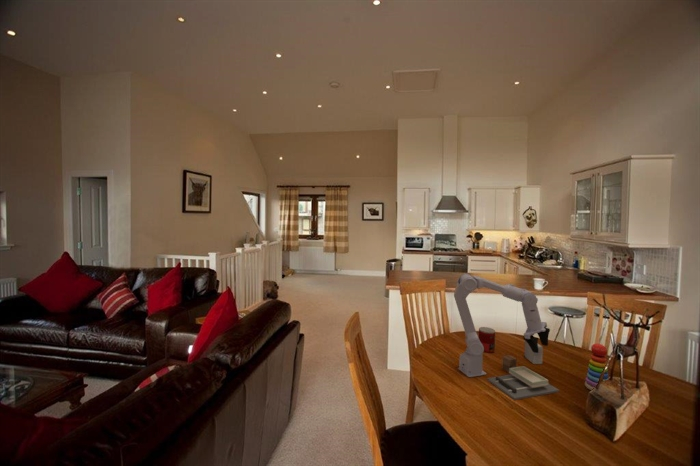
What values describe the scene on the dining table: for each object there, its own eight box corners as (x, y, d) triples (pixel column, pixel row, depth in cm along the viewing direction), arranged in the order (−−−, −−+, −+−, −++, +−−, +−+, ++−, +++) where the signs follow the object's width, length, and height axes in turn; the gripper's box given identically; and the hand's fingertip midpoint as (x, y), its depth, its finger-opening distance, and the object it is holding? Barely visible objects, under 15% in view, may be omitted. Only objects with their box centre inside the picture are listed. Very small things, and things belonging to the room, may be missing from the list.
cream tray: (532, 390, 120) (532, 382, 120) (508, 375, 131) (509, 368, 131) (548, 387, 122) (548, 380, 122) (523, 372, 134) (523, 366, 133)
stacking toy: (614, 396, 119) (617, 349, 118) (591, 393, 121) (593, 347, 120) (602, 385, 127) (604, 341, 126) (580, 382, 129) (582, 339, 128)
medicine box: (542, 364, 145) (543, 346, 144) (533, 364, 145) (533, 346, 145) (533, 357, 153) (533, 340, 152) (524, 356, 153) (524, 340, 152)
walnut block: (509, 373, 136) (509, 360, 136) (502, 368, 140) (502, 356, 140) (516, 371, 138) (516, 359, 137) (509, 367, 141) (509, 355, 141)
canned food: (492, 354, 155) (493, 333, 154) (476, 350, 160) (477, 329, 159) (496, 349, 161) (496, 329, 161) (480, 345, 166) (480, 325, 165)
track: (514, 400, 116) (514, 394, 116) (487, 379, 130) (487, 374, 130) (559, 391, 122) (559, 386, 122) (528, 373, 136) (528, 368, 136)
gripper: (532, 325, 124) (540, 357, 124) (551, 313, 131) (558, 343, 131) (516, 323, 130) (524, 353, 130) (534, 311, 137) (542, 340, 137)
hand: (540, 348), depth 131 cm, fingers open, 7 cm apart
